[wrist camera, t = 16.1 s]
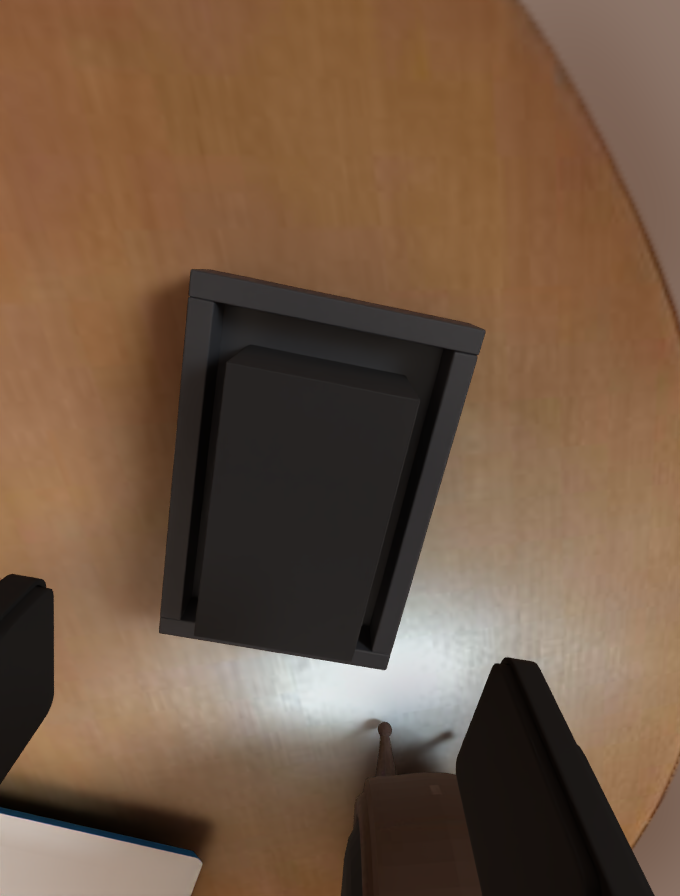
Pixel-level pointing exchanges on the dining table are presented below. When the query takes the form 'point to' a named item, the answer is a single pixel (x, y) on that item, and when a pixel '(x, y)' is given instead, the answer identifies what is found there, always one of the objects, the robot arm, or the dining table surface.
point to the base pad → (333, 338)
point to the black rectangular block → (300, 500)
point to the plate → (87, 861)
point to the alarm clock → (408, 835)
